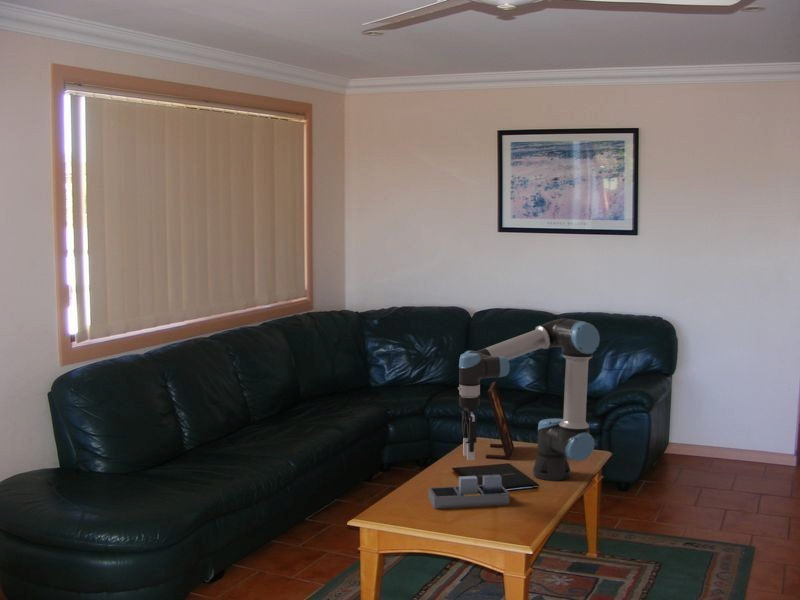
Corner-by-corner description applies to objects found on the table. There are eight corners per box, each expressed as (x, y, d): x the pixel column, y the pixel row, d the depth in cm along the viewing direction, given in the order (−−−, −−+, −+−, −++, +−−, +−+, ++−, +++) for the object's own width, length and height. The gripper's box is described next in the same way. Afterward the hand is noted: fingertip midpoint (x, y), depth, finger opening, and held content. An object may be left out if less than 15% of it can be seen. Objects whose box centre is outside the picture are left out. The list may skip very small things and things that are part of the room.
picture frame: (510, 460, 389) (511, 391, 386) (485, 458, 391) (486, 390, 388) (513, 447, 410) (514, 382, 406) (490, 446, 412) (491, 381, 408)
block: (475, 496, 338) (475, 475, 337) (477, 499, 335) (477, 478, 334) (458, 497, 337) (458, 476, 336) (460, 500, 334) (460, 479, 333)
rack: (500, 494, 344) (501, 471, 343) (509, 504, 332) (509, 480, 331) (428, 498, 339) (428, 474, 338) (434, 508, 328) (434, 484, 327)
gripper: (453, 390, 340) (453, 451, 342) (465, 401, 322) (464, 465, 324) (473, 390, 341) (472, 450, 344) (485, 400, 323) (485, 464, 326)
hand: (468, 457), depth 334 cm, fingers open, 5 cm apart
